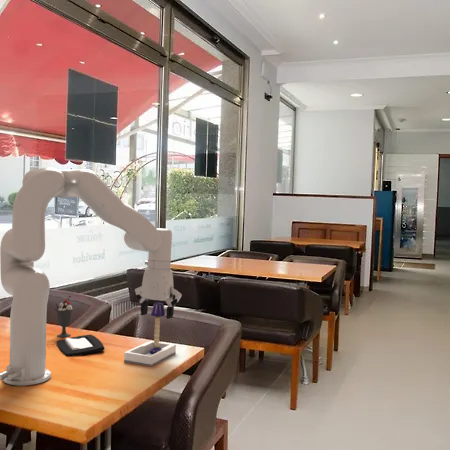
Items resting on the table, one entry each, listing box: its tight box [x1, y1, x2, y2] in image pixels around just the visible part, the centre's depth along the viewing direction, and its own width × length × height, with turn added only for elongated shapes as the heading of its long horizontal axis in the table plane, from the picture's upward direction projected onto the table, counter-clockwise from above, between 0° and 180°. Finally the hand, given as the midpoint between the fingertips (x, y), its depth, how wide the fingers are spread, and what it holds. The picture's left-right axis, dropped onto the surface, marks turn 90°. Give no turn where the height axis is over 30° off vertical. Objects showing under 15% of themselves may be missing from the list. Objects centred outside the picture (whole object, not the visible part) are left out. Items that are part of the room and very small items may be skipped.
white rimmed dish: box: [123, 340, 177, 367], centre depth 171 cm, size 16×10×3 cm, turn 158°
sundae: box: [54, 295, 75, 339], centre depth 194 cm, size 7×7×15 cm
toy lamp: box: [150, 302, 166, 354], centre depth 174 cm, size 5×5×17 cm
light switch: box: [56, 334, 105, 357], centre depth 180 cm, size 20×3×14 cm
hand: (156, 316), depth 174 cm, fingers open, 9 cm apart
